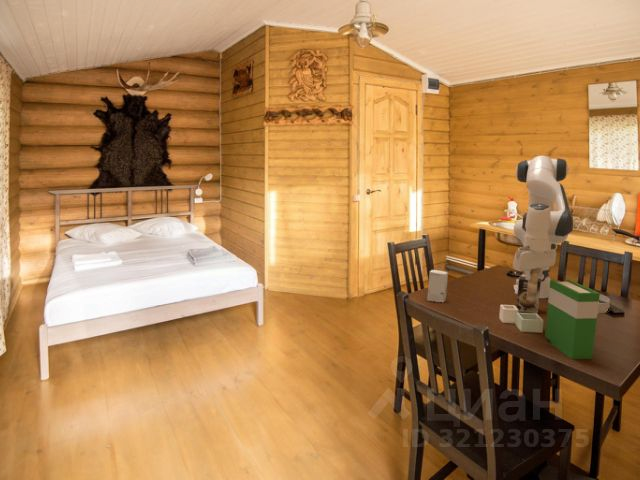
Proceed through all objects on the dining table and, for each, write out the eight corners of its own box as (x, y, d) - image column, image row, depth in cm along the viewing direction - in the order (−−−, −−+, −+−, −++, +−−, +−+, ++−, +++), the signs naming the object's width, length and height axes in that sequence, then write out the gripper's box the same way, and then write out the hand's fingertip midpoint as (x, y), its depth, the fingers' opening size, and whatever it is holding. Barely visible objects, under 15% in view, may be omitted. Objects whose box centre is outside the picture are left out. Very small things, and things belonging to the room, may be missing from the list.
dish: (594, 299, 222) (595, 290, 221) (619, 314, 201) (620, 304, 200) (548, 298, 224) (549, 288, 223) (568, 313, 203) (569, 302, 202)
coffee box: (515, 313, 202) (518, 278, 199) (516, 308, 208) (519, 275, 205) (537, 316, 198) (540, 281, 195) (538, 311, 204) (541, 277, 201)
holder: (515, 326, 186) (516, 312, 185) (535, 327, 185) (536, 313, 184) (520, 333, 178) (522, 319, 177) (542, 334, 177) (543, 320, 176)
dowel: (524, 299, 181) (527, 263, 178) (533, 299, 181) (536, 263, 178) (528, 302, 178) (531, 265, 175) (537, 302, 178) (540, 265, 175)
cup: (499, 319, 194) (500, 304, 192) (513, 320, 193) (514, 305, 191) (502, 324, 188) (503, 309, 187) (517, 325, 187) (518, 309, 186)
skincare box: (426, 300, 220) (428, 271, 217) (429, 297, 225) (431, 269, 222) (444, 303, 216) (445, 273, 213) (446, 299, 221) (448, 271, 219)
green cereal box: (544, 339, 173) (550, 279, 169) (563, 338, 174) (569, 279, 169) (571, 359, 156) (578, 293, 152) (592, 358, 156) (599, 293, 152)
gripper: (523, 248, 168) (520, 284, 171) (560, 244, 177) (557, 278, 179) (510, 246, 174) (507, 280, 176) (546, 241, 182) (543, 274, 185)
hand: (532, 279), depth 178 cm, fingers closed on dowel, 3 cm apart
